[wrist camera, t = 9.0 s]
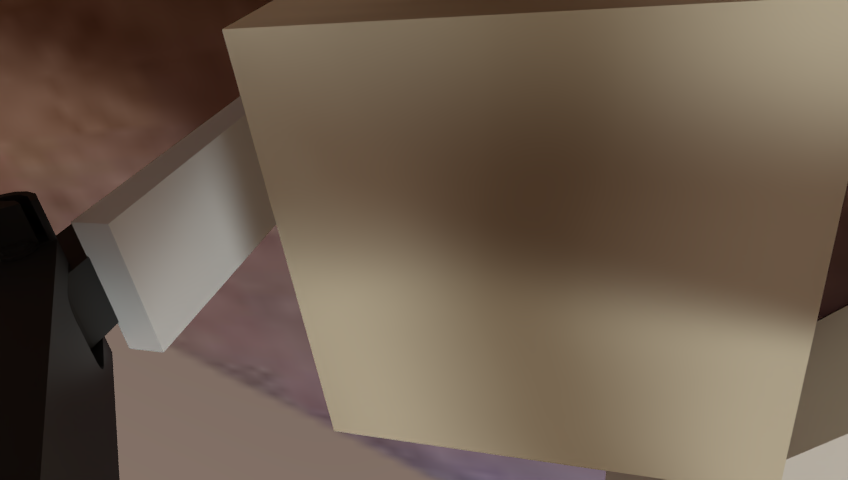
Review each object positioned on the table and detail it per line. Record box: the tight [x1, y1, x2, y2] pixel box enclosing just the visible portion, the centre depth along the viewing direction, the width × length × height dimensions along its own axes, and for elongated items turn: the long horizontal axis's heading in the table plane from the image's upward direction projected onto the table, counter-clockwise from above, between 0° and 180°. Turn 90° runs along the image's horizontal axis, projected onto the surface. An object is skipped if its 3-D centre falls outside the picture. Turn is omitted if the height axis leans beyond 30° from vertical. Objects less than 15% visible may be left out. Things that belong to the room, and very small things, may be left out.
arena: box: [605, 305, 848, 480], centre depth 15 cm, size 18×19×4 cm
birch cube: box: [222, 0, 848, 480], centre depth 14 cm, size 8×8×8 cm
